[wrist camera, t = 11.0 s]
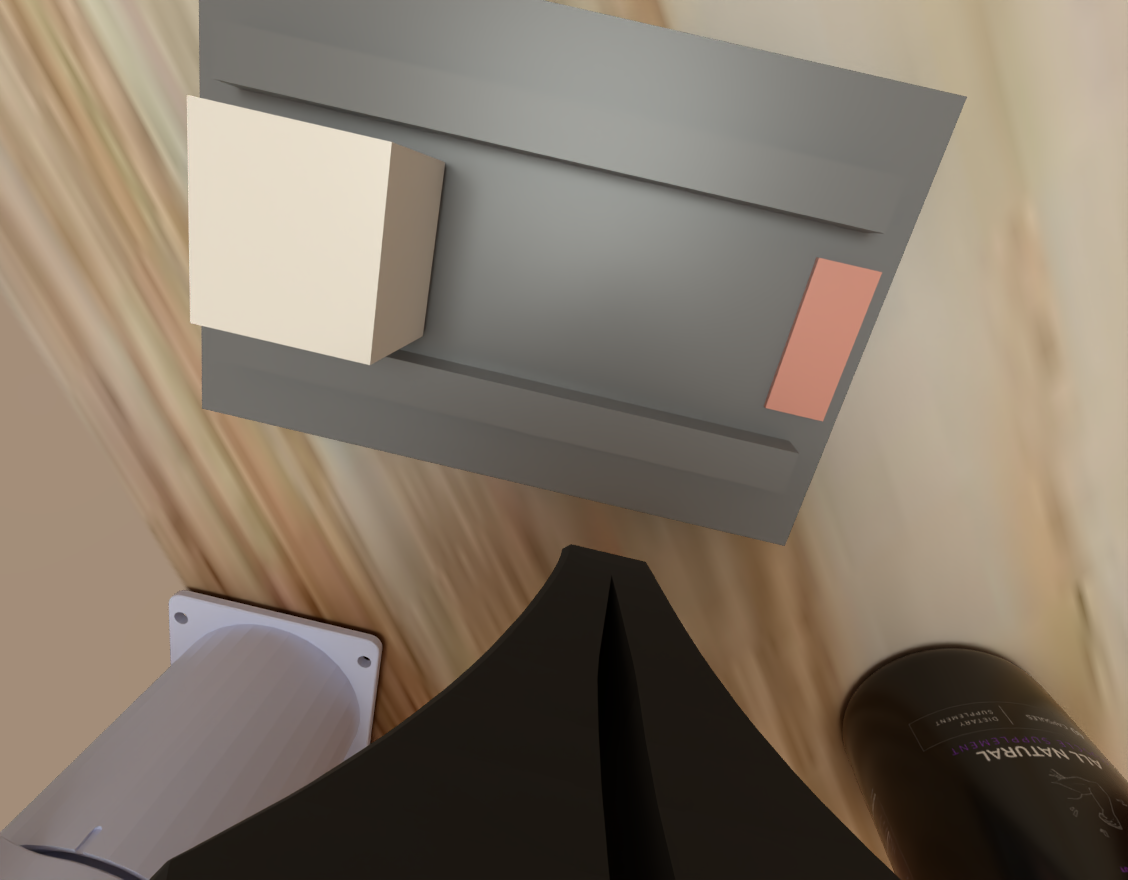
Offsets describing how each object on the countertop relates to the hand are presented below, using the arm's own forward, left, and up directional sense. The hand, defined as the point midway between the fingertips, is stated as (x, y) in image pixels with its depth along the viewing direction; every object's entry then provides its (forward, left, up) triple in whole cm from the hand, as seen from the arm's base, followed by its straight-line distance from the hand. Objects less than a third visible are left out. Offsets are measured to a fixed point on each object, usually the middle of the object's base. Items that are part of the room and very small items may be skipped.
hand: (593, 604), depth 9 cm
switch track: (+4, +3, -9) cm, 11 cm away
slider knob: (+4, +7, -8) cm, 11 cm away
